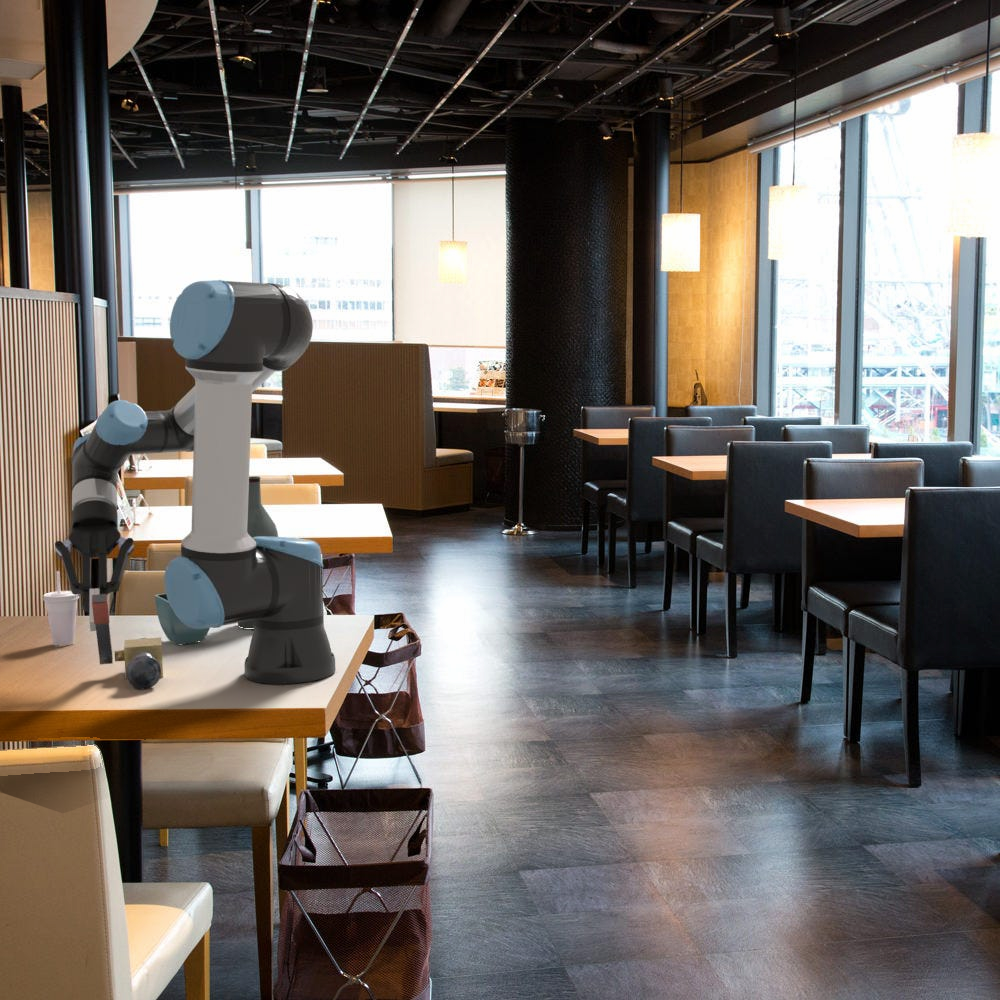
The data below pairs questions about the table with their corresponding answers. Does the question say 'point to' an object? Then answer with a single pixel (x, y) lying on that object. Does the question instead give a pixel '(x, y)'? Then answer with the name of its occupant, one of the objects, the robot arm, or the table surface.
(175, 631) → the flower pot
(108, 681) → the table surface
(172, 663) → the table surface
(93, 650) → the table surface
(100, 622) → the lever
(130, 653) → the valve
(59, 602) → the smoothie
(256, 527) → the bottle
